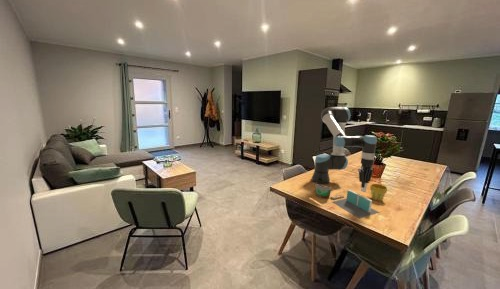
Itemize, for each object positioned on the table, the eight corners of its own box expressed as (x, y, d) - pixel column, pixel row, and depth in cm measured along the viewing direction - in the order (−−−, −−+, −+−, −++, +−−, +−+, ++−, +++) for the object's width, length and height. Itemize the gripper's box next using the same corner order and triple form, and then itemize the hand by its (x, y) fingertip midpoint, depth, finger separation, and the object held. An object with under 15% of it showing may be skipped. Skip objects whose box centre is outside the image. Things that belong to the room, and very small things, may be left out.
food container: (311, 196, 153) (312, 183, 151) (315, 194, 157) (316, 181, 155) (327, 202, 145) (328, 189, 143) (331, 199, 149) (332, 186, 147)
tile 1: (346, 200, 145) (347, 190, 144) (348, 200, 146) (349, 189, 144) (355, 206, 138) (357, 194, 136) (358, 205, 139) (359, 194, 137)
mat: (331, 203, 143) (331, 201, 143) (350, 199, 150) (350, 197, 150) (359, 220, 124) (359, 218, 123) (379, 214, 131) (379, 212, 131)
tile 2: (357, 206, 137) (358, 195, 136) (359, 206, 138) (360, 195, 136) (368, 212, 130) (369, 200, 128) (370, 212, 131) (372, 200, 129)
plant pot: (370, 194, 159) (372, 182, 157) (386, 198, 153) (388, 186, 150) (367, 199, 151) (369, 186, 149) (384, 203, 145) (386, 190, 143)
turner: (334, 202, 145) (335, 199, 145) (328, 198, 151) (328, 195, 150) (353, 198, 153) (353, 195, 152) (346, 194, 158) (347, 191, 157)
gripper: (365, 160, 133) (361, 195, 138) (379, 158, 139) (374, 192, 143) (355, 157, 140) (352, 190, 145) (369, 156, 145) (365, 188, 150)
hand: (363, 191), depth 144 cm, fingers closed
